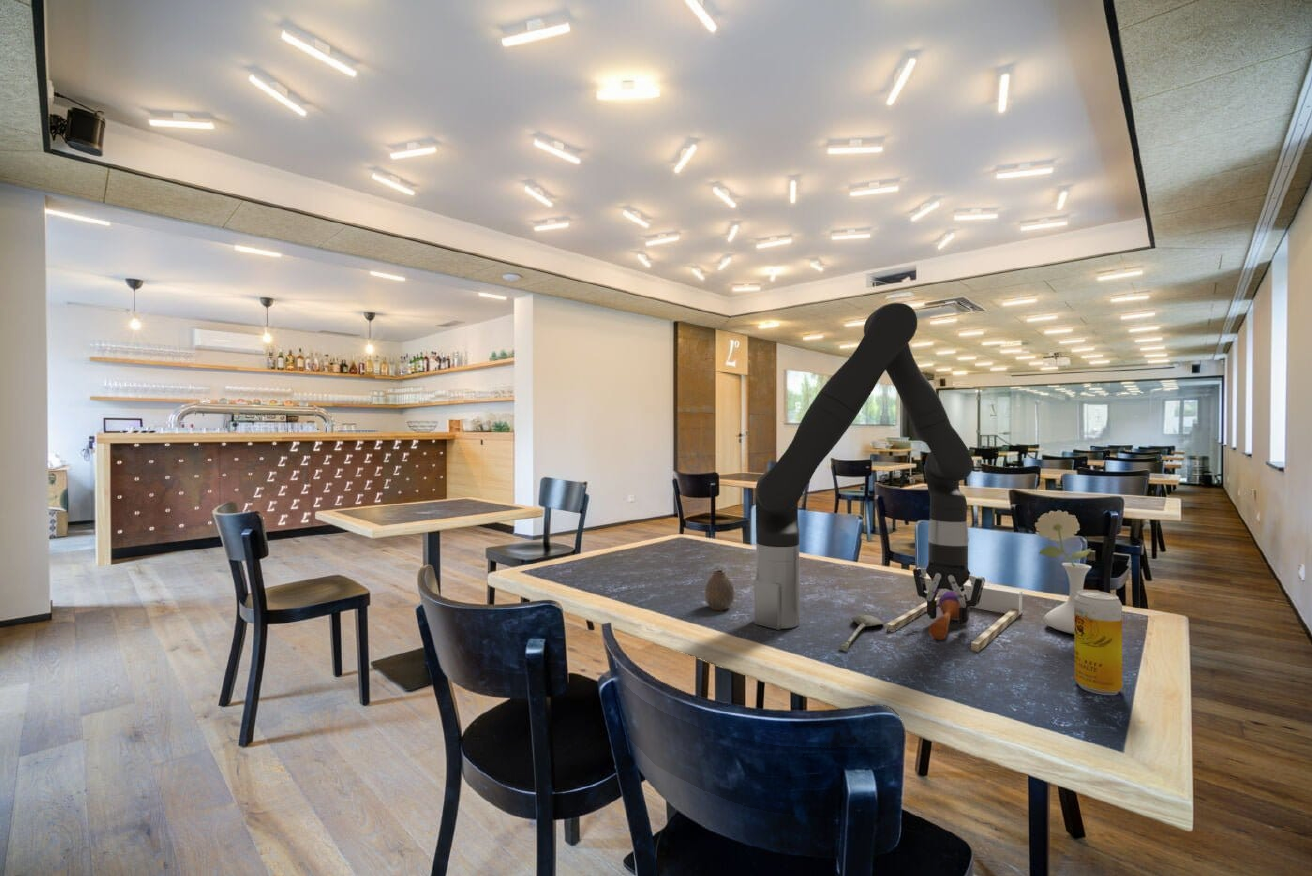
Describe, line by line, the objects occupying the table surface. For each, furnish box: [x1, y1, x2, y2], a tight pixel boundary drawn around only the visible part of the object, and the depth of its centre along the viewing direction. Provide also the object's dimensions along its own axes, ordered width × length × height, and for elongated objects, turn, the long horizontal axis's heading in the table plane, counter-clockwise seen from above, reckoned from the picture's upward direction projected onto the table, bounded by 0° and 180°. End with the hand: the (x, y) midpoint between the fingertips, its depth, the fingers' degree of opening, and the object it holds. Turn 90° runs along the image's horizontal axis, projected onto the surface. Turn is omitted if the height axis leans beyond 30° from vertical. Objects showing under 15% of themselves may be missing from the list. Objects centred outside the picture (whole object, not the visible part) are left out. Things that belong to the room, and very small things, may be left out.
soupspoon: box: [838, 614, 885, 652], centre depth 118 cm, size 22×3×7 cm
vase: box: [704, 569, 735, 611], centre depth 137 cm, size 7×7×9 cm
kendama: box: [928, 591, 971, 640], centre depth 122 cm, size 6×6×20 cm
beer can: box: [1073, 590, 1123, 696], centre depth 92 cm, size 6×6×15 cm
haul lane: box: [886, 594, 1020, 653], centre depth 125 cm, size 31×17×2 cm, turn 136°
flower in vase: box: [1034, 509, 1092, 635], centre depth 120 cm, size 13×11×25 cm
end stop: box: [937, 582, 1023, 616], centre depth 137 cm, size 3×17×5 cm, turn 46°
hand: (947, 620), depth 122 cm, fingers closed on kendama, 5 cm apart
